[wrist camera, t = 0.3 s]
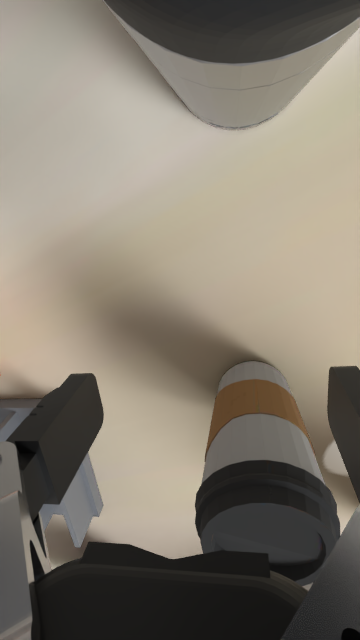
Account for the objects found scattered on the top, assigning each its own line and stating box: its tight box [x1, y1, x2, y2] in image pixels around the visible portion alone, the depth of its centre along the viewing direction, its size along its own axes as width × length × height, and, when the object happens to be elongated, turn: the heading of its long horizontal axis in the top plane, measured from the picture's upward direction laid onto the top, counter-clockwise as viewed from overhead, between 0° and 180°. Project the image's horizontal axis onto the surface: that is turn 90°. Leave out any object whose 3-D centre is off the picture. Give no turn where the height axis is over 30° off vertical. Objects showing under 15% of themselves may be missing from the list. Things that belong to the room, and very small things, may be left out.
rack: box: [0, 399, 103, 548], centre depth 38 cm, size 16×17×6 cm
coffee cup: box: [195, 361, 340, 586], centre depth 25 cm, size 8×8×15 cm
